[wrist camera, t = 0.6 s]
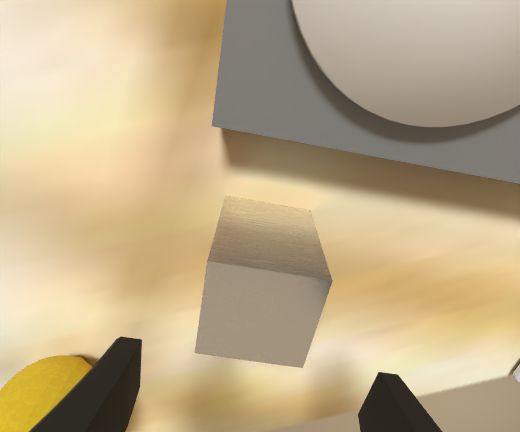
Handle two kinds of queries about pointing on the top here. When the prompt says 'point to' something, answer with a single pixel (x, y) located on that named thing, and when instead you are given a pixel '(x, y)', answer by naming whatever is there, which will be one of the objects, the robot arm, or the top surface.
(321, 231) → the top surface
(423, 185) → the top surface
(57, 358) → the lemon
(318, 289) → the block
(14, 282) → the top surface
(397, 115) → the scale
